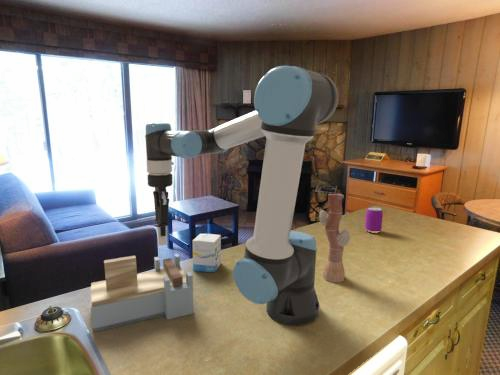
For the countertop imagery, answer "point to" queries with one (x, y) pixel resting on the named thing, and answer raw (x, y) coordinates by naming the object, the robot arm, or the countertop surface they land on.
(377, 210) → the beverage can
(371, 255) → the countertop surface
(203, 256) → the ink box
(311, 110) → the robot arm
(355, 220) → the countertop surface
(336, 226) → the vase
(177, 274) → the cross bar
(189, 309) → the grey box with brackets
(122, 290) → the lid
